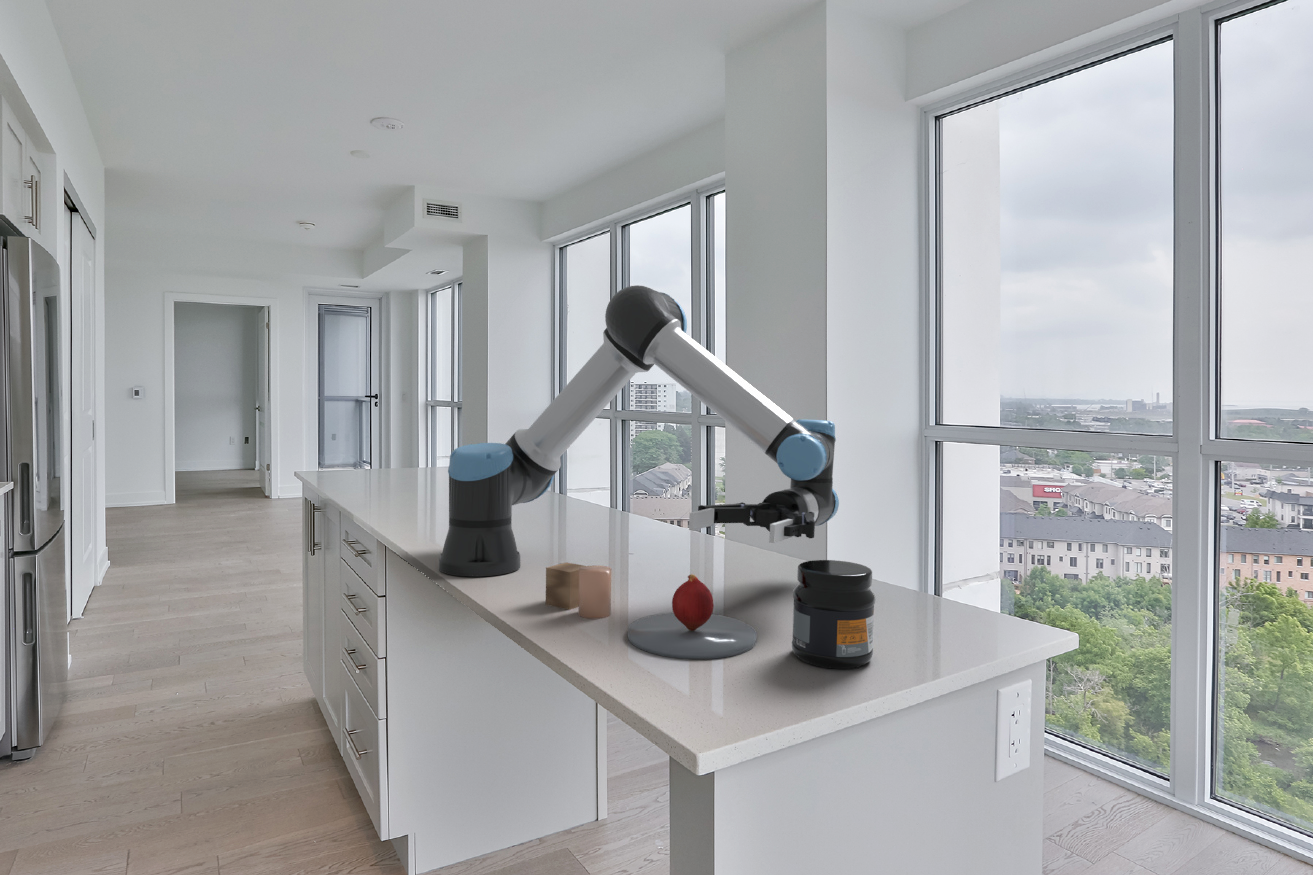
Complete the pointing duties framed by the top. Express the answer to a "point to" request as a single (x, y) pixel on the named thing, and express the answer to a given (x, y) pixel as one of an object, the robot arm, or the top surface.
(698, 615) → the red pomegranate
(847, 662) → the supplement container
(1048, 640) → the top surface
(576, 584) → the walnut block
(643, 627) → the slate plate
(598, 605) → the cylinder
